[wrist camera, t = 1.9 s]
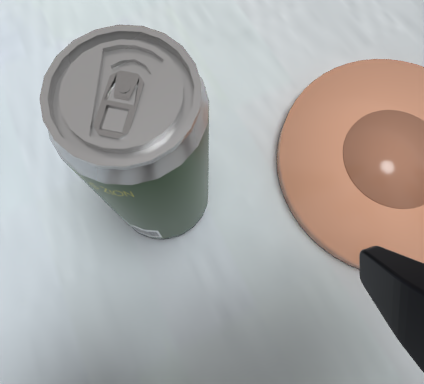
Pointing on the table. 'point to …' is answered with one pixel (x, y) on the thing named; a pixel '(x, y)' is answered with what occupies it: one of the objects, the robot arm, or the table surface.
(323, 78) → the saucer
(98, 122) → the beer can
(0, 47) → the table surface
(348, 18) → the table surface
